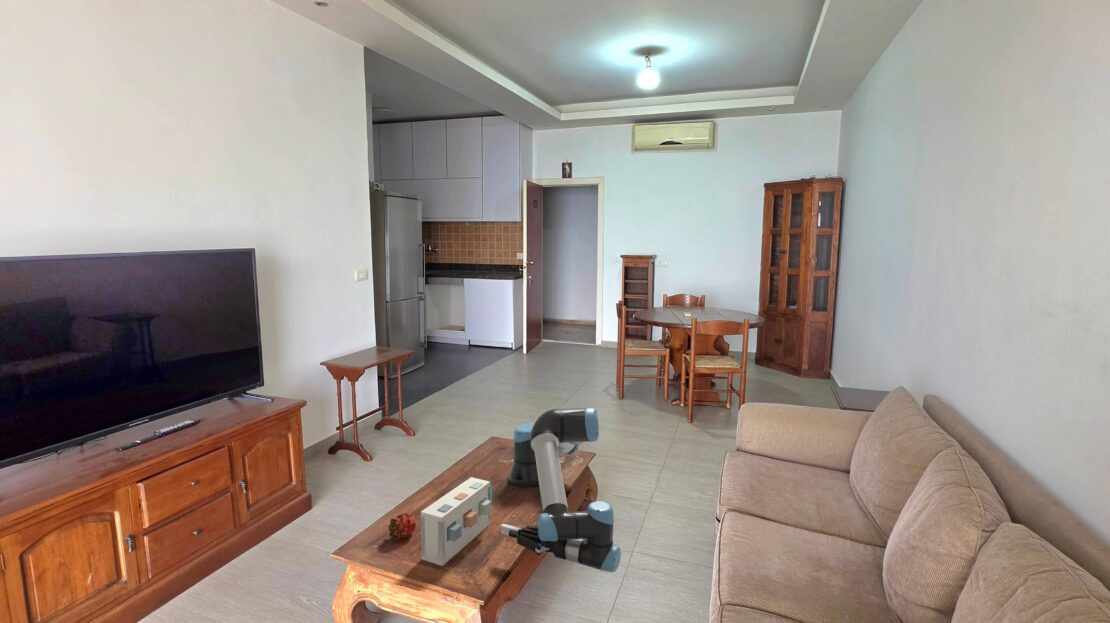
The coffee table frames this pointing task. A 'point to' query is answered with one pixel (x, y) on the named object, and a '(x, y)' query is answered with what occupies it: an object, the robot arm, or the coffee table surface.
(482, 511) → the sage button
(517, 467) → the robot arm
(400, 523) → the dragon fruit
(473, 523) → the terracotta button
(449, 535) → the slate button
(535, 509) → the coffee table surface
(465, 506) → the button box
